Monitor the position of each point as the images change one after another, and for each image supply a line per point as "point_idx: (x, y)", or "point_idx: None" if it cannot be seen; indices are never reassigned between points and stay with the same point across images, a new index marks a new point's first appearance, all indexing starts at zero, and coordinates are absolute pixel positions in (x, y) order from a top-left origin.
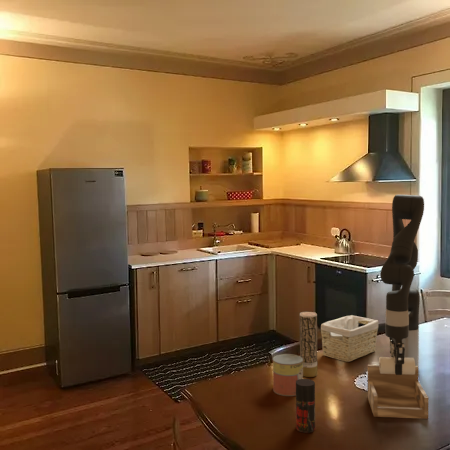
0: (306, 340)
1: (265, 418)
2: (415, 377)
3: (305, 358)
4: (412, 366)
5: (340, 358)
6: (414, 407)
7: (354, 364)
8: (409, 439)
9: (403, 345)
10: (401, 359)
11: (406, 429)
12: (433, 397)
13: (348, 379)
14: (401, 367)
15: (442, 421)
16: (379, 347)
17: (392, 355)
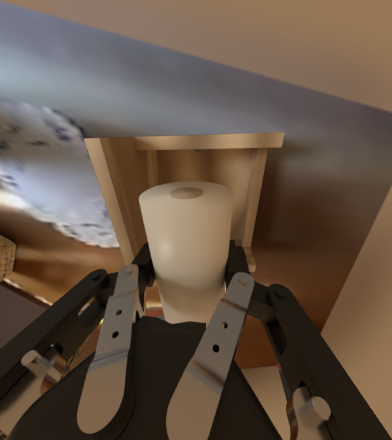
0: (66, 374)
1: (246, 341)
2: (128, 148)
3: (93, 331)
4: (231, 214)
5: (11, 255)
6: (216, 160)
7: (17, 234)
8: (356, 200)
9: (213, 420)
10: (249, 301)
11: (310, 196)
12: (125, 82)
13: (94, 253)
14: (237, 261)
15: (283, 92)
16: None
17: (144, 296)
